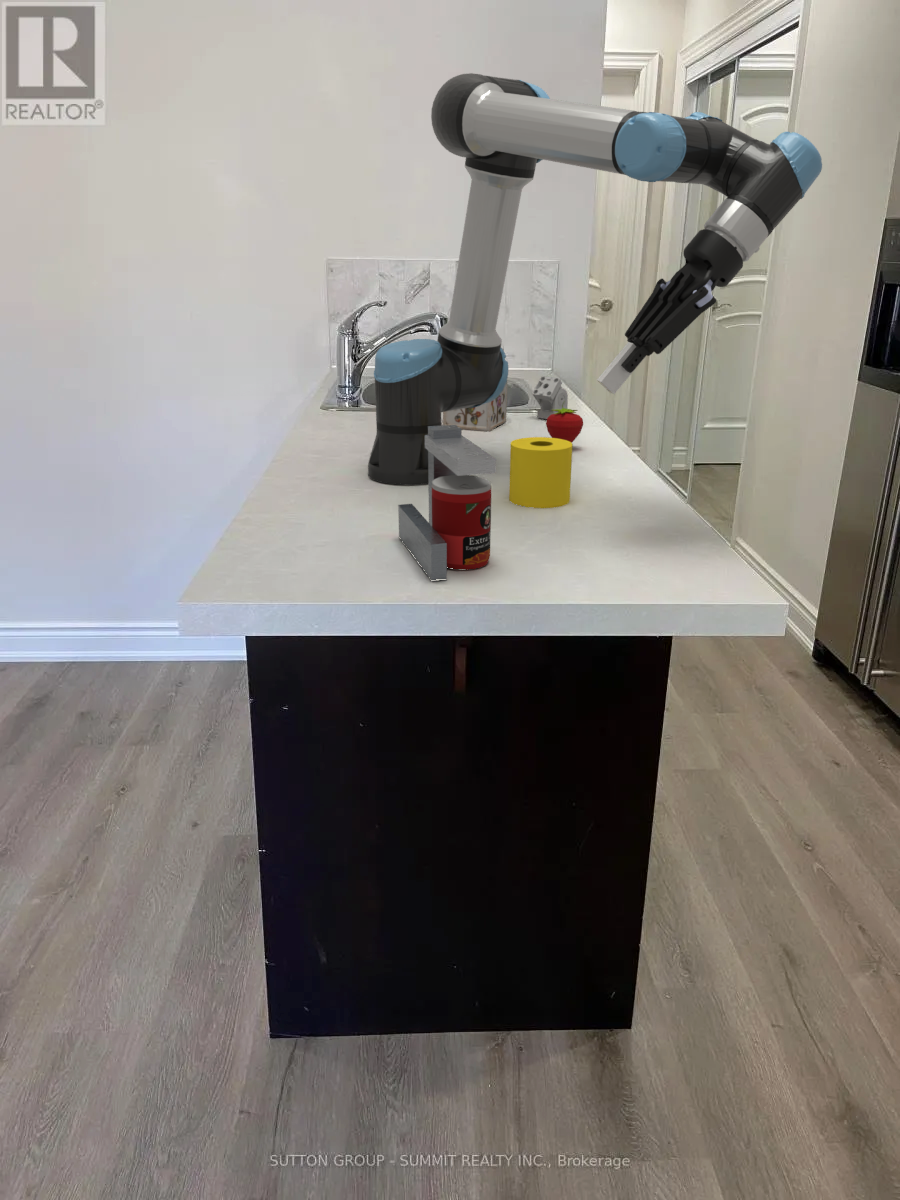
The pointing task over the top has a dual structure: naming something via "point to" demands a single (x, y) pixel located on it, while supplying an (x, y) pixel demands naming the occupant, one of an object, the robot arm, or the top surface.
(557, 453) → the yellow toilet paper roll
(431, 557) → the bracket
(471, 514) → the canned food
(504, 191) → the robot arm
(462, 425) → the white patterned box
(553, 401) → the mechanical component
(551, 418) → the strawberry
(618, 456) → the top surface
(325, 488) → the top surface
